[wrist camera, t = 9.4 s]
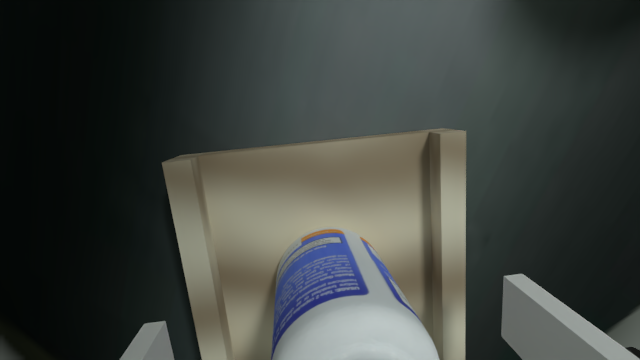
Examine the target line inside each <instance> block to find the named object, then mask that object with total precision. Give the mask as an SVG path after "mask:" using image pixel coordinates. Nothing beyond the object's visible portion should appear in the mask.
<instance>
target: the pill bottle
mask: <svg viewBox="0 0 640 360" xmlns="http://www.w3.org/2000/svg"><path fill="white" fill-rule="evenodd" d="M271 360H439V356H438V353H437V350H436V347H435V345H434V343H433V341H432V339H431V337H430V336H429V334H428V332H427V331H426V329H425V327H424V326H423V324H422V322H421V321H420V319H419V317H418V316H417V314H416V313H415V311H414V310H413V308H412V307H411V305H410V303H409V302H408V300H407V299H406V297H405V296H404V294H403V293H402V291H401V290H400V288H399V287H398V285H397V284H396V282H395V280H394V279H393V277H392V276H391V274H390V273H389V271H388V269H387V268H386V266H385V264H384V263H383V261H382V260H381V258H380V256H379V255H378V253H377V252H376V250H375V249H374V248H373V247H372V245H371V244H370V243H369V242H368V241H367V240H366V239H364V238H363V237H362V236H360V235H358V234H357V233H355V232H353V231H350V230H347V229H344V228H338V227H325V228H319V229H316V230H313V231H310V232H308V233H306V234H304V235H302V236H301V237H299V238H298V239H297V240H296V241H294V242H293V243H292V244H291V246H290V247H289V248H288V249H287V250H286V252H285V253H284V255H283V257H282V259H281V261H280V264H279V267H278V271H277V278H276V292H275V309H274V324H273V340H272V353H271Z"/></svg>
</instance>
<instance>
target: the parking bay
mask: <svg viewBox="0 0 640 360" xmlns="http://www.w3.org/2000/svg"><path fill="white" fill-rule="evenodd" d="M162 167H163V171H164V176H165V181H166V186H167V191H168V196H169V201H170V206H171V211H172V216H173V221H174V225H175V230H176V235H177V240H178V245H179V250H180V255H181V260H182V265H183V270H184V275H185V280H186V284H187V289H188V294H189V299H190V304H191V309H192V314H193V319H194V324H195V329H196V334H197V338H198V343H199V348H200V353H201V358H202V360H271V353H272V340H273V324H274V309H275V292H276V278H277V271H278V267H279V264H280V261H281V259H282V257H283V255H284V253H285V252H286V250H287V249H288V248H289V247H290V246H291V244H292V243H293V242H294V241H296V240H297V239H298V238H299V237H301V236H302V235H304V234H306V233H308V232H310V231H313V230H316V229H319V228H325V227H338V228H344V229H347V230H350V231H353V232H355V233H357V234H358V235H360V236H362V237H363V238H364V239H366V240H367V241H368V242H369V243H370V244H371V245H372V247H373V248H374V249H375V250H376V252H377V253H378V255H379V256H380V258H381V260H382V261H383V263H384V264H385V266H386V268H387V269H388V271H389V273H390V274H391V276H392V277H393V279H394V280H395V282H396V284H397V285H398V287H399V288H400V290H401V291H402V293H403V294H404V296H405V297H406V299H407V300H408V302H409V303H410V305H411V307H412V308H413V310H414V311H415V313H416V314H417V316H418V317H419V319H420V321H421V322H422V324H423V326H424V327H425V329H426V331H427V332H428V334H429V336H430V337H431V339H432V341H433V343H434V345H435V347H436V350H437V353H438V356H439V360H465V267H466V131H461V130H452V129H443V128H441V129H431V130H421V131H411V132H402V133H392V134H382V135H372V136H363V137H353V138H343V139H334V140H324V141H314V142H304V143H295V144H285V145H275V146H265V147H256V148H246V149H236V150H226V151H217V152H207V153H197V154H188V155H180V156H178V157H175V158H172V159H170V160H167V161H165V162H162Z"/></svg>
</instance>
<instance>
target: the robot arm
mask: <svg viewBox="0 0 640 360" xmlns="http://www.w3.org/2000/svg"><path fill="white" fill-rule="evenodd" d="M501 336H502V337H503V338H504V339H505V341H506V342H507V343H508V344H509V345H510V346H511V347H512V348H513V349H514V350H515V352H516V353H517V354H518V355H519V356H520V357H521V358H522V359H523V360H640V350H637V349H636V348H633V347H628V348H624V347H623V346H621V345H620V344H618V343H617V342H616V341H614V340H613V339H612V338H610V337H609V336H608V335H606V334H605V333H603V332H602V331H601V330H599V329H598V328H597V327H595V326H594V325H592V324H591V323H590V322H588V321H587V320H585V319H584V318H583V317H581V316H580V315H579V314H577V313H576V312H574V311H573V310H572V309H570V308H569V307H568V306H566V305H565V304H563V303H562V302H561V301H559V300H558V299H556V298H555V297H554V296H552V295H551V294H550V293H548V292H547V291H545V290H544V289H543V288H541V287H540V286H539V285H537V284H536V283H534V282H533V281H532V280H530V279H529V278H527V277H526V276H525V275H523V274H516V275H508V276H504V282H503V307H502V331H501ZM120 360H174V356H173V352H172V347H171V343H170V339H169V334H168V330H167V326H166V321H161V322H153V323H146V324H144V325H143V326H142V328H141V329H140V331H139V332H138V334H137V335H136V336H135V338H134V339H133V341H132V342H131V344H130V345H129V347H128V348H127V350H126V351H125V352H124V354H123V355H122V357H121V358H120Z"/></svg>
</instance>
